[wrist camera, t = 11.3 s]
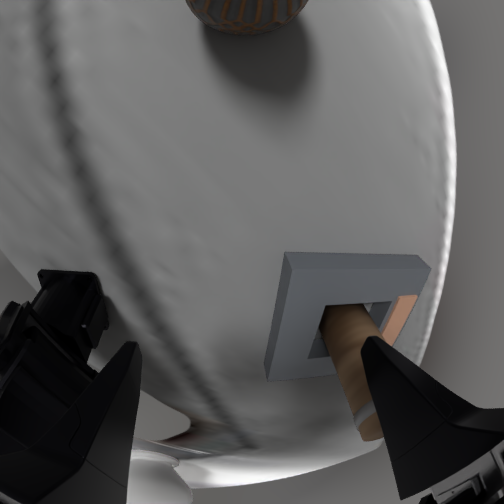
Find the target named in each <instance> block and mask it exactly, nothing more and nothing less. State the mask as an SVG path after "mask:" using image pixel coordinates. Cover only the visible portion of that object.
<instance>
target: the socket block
mask: <svg viewBox="0 0 504 504" xmlns="http://www.w3.org/2000/svg"><path fill="white" fill-rule="evenodd" d="M430 271H431V268H430V267H429V266H428V265H427V264H426V263H425V262H424V261H423V260H422V259H421V258H420V257H419V256H418V255H391V254H349V253H306V252H285V253H284V259H283V265H282V271H281V277H280V282H279V288H278V293H277V299H276V304H275V310H274V315H273V320H272V325H271V331H270V336H269V341H268V346H267V351H266V356H265V361H264V366H265V371H266V377H267V381H281V380H293V379H303V378H312V377H320V376H327V375H334V374H337V372H336V369H335V367H334V364H333V362H332V359H331V357H330V354H329V352H328V349H327V347H326V344H325V342H324V339H320V340H314V338H315V335H316V333H317V330H318V327H319V324H320V321H321V318H322V315H323V311H324V308H325V305H340V304H357V303H372V302H374V303H373V305H372V307H371V310H370V312H369V315H370V316H371V318H372V319H373V321H374V323H375V324H376V326H377V328H378V329H379V331H380V333H381V334H382V336H383V338H384V339H385V341H386V343H388V344H389V345H390V346H392V347H393V345H394V344H395V342H396V340H397V338H398V336H399V335H400V333H401V331H402V329H403V327H404V325H405V324H406V322H407V320H408V318H409V316H410V314H411V312H412V310H413V308H414V306H415V304H416V302H417V300H418V298H419V296H420V294H421V291H422V289H423V287H424V285H425V283H426V280H427V278H428V276H429V273H430Z"/></svg>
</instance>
